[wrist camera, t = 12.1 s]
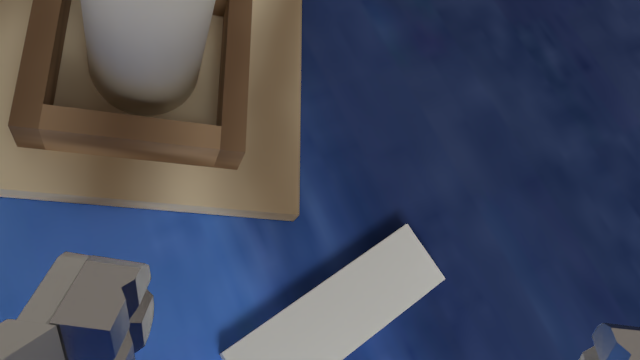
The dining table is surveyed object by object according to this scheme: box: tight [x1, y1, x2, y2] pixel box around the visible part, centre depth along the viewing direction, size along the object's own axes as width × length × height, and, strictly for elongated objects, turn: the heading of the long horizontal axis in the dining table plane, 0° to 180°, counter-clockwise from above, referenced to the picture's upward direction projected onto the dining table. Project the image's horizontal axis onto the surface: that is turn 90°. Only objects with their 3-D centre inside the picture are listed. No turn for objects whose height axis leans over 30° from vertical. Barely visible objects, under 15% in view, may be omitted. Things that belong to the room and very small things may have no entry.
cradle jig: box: [0, 0, 302, 221], centre depth 25 cm, size 14×12×3 cm
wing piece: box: [219, 224, 445, 360], centre depth 25 cm, size 10×3×1 cm, turn 126°
